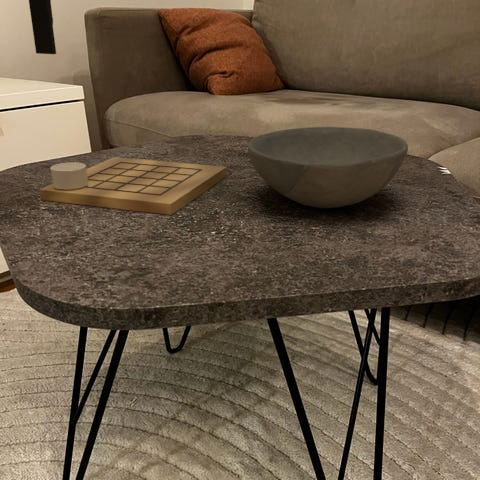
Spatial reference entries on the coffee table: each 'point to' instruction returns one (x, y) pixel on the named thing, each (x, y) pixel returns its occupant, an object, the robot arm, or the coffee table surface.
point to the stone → (69, 175)
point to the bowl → (327, 163)
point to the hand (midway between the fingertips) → (14, 58)
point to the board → (140, 185)
